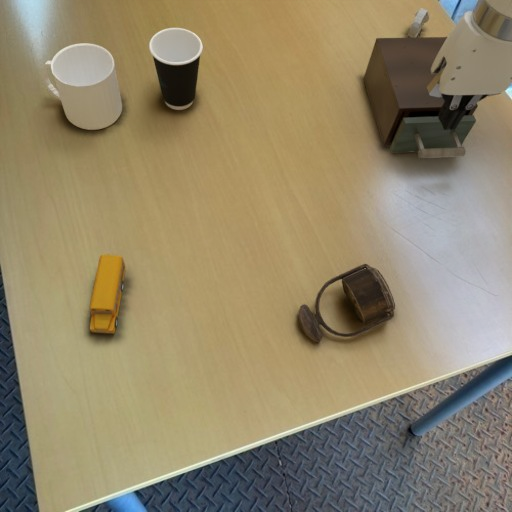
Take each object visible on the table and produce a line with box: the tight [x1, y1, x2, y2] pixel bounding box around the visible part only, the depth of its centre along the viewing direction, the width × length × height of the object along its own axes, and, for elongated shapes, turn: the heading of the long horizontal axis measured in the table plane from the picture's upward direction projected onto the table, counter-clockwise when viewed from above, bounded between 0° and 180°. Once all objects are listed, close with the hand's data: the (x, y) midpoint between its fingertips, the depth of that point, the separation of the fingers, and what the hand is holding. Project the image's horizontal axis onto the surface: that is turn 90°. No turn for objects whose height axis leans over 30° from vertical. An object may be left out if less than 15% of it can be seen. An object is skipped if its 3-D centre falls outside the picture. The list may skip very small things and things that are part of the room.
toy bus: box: [89, 254, 126, 335], centre depth 71 cm, size 3×10×4 cm, turn 178°
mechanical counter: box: [298, 263, 396, 343], centre depth 71 cm, size 7×13×10 cm
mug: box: [40, 42, 123, 131], centre depth 85 cm, size 12×9×9 cm
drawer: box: [389, 111, 477, 159], centre depth 88 cm, size 19×11×7 cm, turn 7°
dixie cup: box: [148, 27, 204, 111], centre depth 86 cm, size 8×8×11 cm
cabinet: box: [363, 36, 479, 147], centre depth 90 cm, size 16×13×9 cm
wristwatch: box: [407, 7, 430, 38], centre depth 102 cm, size 3×5×5 cm, turn 150°
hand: (446, 122), depth 80 cm, fingers closed
